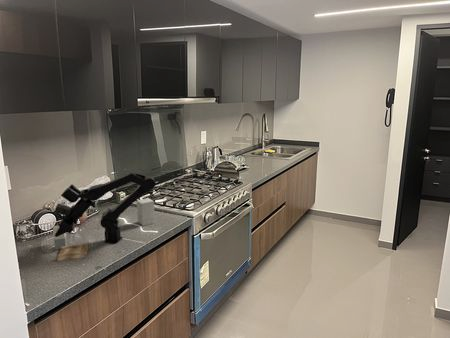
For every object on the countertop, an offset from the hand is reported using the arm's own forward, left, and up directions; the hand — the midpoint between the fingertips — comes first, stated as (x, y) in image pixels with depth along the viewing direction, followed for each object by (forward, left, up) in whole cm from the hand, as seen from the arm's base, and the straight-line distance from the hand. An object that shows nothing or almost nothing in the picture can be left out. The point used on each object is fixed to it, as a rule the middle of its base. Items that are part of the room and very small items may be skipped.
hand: (56, 234), depth 156 cm
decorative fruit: (+9, -27, -7) cm, 29 cm away
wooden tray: (-11, +4, -7) cm, 14 cm away
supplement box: (-26, -37, -7) cm, 46 cm away
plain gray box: (-1, -1, -7) cm, 7 cm away
